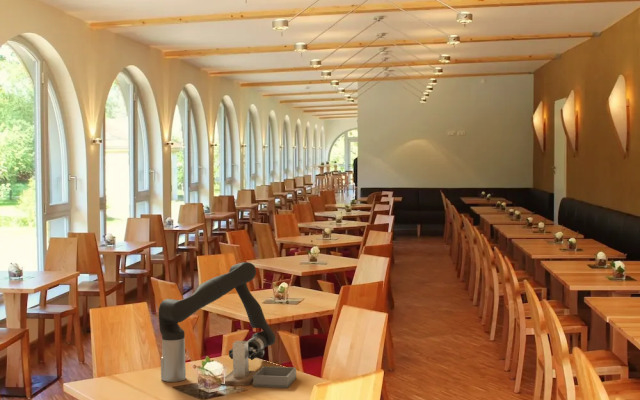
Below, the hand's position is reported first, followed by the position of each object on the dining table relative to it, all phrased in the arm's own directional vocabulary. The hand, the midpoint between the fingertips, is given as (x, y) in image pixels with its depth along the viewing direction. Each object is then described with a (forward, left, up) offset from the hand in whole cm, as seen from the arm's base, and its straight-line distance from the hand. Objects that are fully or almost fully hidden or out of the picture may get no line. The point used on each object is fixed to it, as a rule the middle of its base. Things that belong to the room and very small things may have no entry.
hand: (241, 357), depth 316 cm
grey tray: (+15, -3, -9) cm, 18 cm away
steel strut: (0, -1, -8) cm, 8 cm away
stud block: (0, -1, -9) cm, 9 cm away
